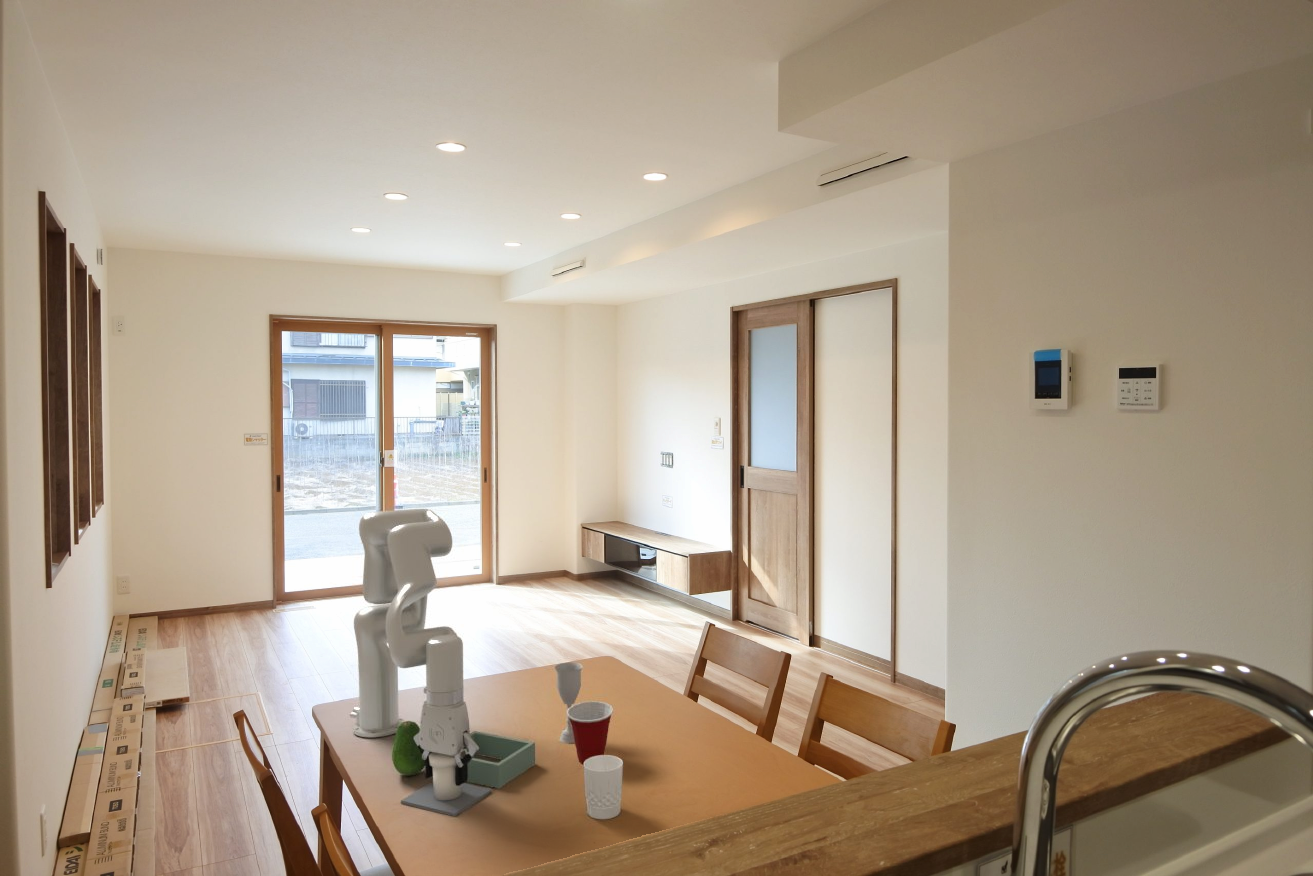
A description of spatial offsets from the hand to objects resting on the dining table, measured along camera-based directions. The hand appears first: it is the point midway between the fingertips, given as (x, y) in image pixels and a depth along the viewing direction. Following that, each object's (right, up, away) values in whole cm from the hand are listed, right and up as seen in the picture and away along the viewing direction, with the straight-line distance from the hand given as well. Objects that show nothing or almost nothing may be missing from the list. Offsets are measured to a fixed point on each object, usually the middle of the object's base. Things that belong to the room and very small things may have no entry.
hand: (446, 779), depth 177 cm
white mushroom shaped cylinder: (0, -3, 0) cm, 3 cm away
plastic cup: (+29, -3, +19) cm, 34 cm away
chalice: (+23, -3, +31) cm, 39 cm away
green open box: (+6, -3, +14) cm, 15 cm away
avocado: (-11, -4, +11) cm, 16 cm away
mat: (0, -4, 0) cm, 4 cm away
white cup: (+33, -4, -7) cm, 34 cm away
